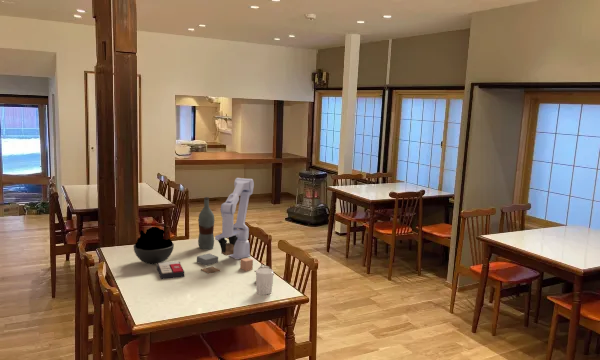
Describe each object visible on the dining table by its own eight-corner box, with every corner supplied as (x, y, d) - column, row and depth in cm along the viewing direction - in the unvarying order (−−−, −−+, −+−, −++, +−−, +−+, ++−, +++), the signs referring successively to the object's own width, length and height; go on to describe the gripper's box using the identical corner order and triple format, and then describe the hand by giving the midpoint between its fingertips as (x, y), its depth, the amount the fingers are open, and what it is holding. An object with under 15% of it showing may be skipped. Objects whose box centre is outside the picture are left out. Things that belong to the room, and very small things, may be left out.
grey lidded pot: (267, 287, 230) (280, 272, 229) (259, 286, 222) (273, 270, 221) (255, 275, 234) (268, 259, 233) (247, 273, 226) (260, 258, 225)
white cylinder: (266, 296, 209) (266, 275, 207) (251, 292, 213) (252, 271, 211) (276, 291, 215) (276, 270, 214) (262, 287, 220) (262, 266, 218)
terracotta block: (247, 266, 248) (247, 257, 247) (252, 269, 244) (252, 259, 244) (240, 268, 244) (240, 259, 244) (245, 271, 241) (245, 261, 241)
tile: (212, 267, 245) (212, 266, 245) (220, 270, 240) (220, 269, 240) (200, 270, 240) (200, 269, 240) (208, 273, 235) (208, 272, 235)
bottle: (195, 249, 275) (195, 198, 270) (201, 244, 284) (201, 195, 279) (211, 250, 273) (211, 199, 269) (216, 246, 282) (217, 196, 278)
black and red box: (161, 272, 224) (156, 261, 238) (161, 281, 225) (156, 269, 238) (184, 270, 229) (179, 259, 242) (184, 278, 230) (178, 267, 243)
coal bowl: (172, 256, 260) (172, 223, 257) (175, 268, 241) (175, 232, 238) (134, 258, 253) (133, 224, 251) (133, 271, 235) (132, 234, 232)
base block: (209, 259, 258) (209, 253, 258) (218, 263, 253) (218, 256, 252) (196, 262, 252) (196, 256, 252) (205, 266, 247) (205, 259, 246)
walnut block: (228, 252, 250) (228, 242, 250) (233, 254, 247) (233, 244, 246) (221, 253, 247) (221, 244, 246) (226, 255, 244) (226, 246, 243)
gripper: (234, 222, 253) (233, 246, 255) (211, 226, 242) (211, 251, 244) (242, 224, 248) (241, 249, 250) (220, 229, 238) (219, 255, 240)
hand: (227, 251), depth 247 cm, fingers closed on walnut block, 4 cm apart
